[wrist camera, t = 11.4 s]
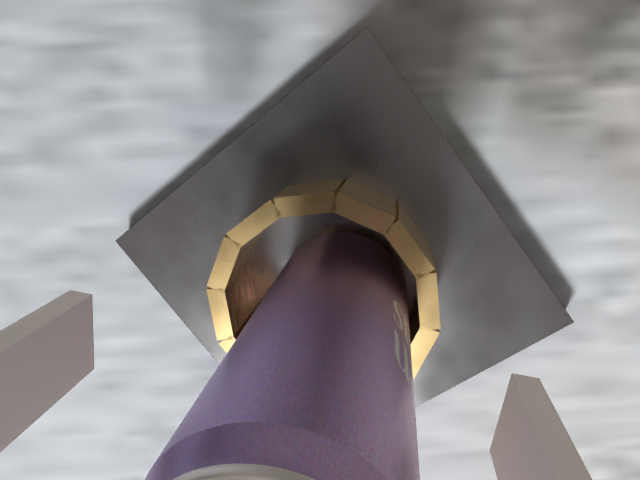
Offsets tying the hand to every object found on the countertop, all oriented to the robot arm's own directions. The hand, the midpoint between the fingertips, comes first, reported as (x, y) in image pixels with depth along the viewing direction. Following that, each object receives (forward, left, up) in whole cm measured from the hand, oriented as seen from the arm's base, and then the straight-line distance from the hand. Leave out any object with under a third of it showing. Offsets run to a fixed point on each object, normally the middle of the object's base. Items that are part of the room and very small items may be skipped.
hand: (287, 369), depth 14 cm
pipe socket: (0, 0, -10) cm, 10 cm away
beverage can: (+1, 0, -9) cm, 9 cm away
